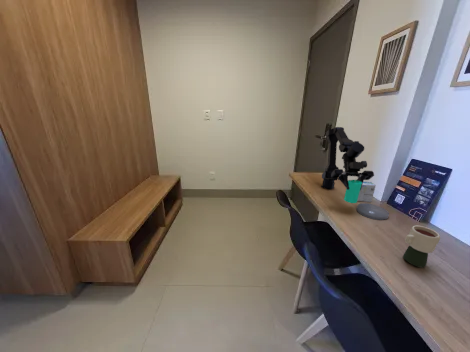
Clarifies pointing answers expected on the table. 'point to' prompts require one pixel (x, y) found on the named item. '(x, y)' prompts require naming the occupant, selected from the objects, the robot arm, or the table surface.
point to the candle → (352, 191)
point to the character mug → (420, 245)
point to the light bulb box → (366, 191)
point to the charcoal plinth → (372, 211)
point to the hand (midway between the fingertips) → (354, 189)
